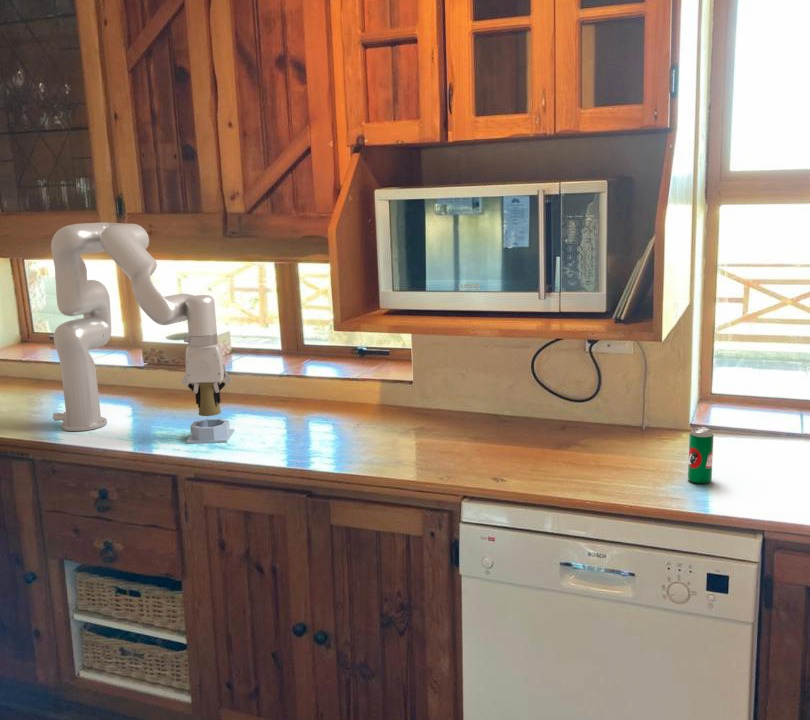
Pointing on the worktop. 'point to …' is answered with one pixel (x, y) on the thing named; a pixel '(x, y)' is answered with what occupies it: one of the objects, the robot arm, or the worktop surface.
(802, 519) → the worktop surface
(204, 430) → the grey octagonal holder
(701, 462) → the soda can
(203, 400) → the cork
